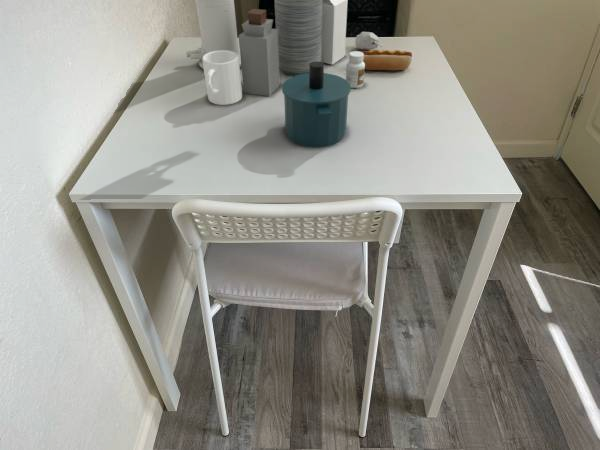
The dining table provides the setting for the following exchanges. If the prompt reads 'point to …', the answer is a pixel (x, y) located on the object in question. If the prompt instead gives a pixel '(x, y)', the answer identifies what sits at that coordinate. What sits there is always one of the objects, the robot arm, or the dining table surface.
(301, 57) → the vase
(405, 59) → the food
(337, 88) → the lid
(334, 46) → the milk carton
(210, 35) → the robot arm
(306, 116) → the pot
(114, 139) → the dining table surface
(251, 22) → the perfume bottle
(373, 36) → the figurine
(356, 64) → the pill bottle
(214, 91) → the mug
